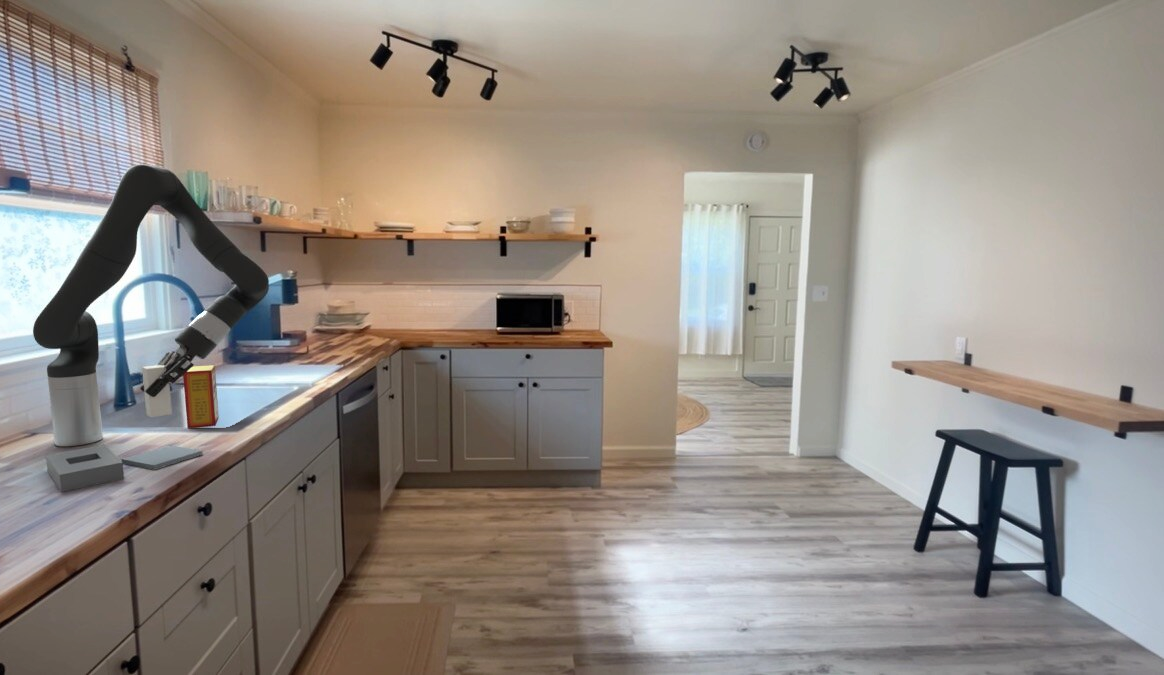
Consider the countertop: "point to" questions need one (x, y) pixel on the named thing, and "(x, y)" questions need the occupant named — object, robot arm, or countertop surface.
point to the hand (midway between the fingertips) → (146, 393)
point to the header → (84, 467)
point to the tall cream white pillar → (162, 400)
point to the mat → (161, 457)
